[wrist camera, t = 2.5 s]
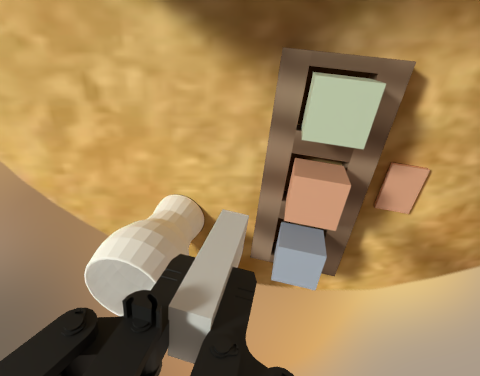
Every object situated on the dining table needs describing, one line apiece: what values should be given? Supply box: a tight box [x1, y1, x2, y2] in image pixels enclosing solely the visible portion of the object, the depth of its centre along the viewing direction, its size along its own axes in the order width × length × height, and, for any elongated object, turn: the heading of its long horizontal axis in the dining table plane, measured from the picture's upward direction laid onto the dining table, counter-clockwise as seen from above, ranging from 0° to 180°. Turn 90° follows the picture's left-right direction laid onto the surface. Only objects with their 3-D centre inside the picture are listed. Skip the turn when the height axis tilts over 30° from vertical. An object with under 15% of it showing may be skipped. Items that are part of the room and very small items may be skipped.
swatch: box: [374, 162, 430, 214], centre depth 31 cm, size 6×4×1 cm, turn 174°
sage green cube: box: [302, 72, 386, 149], centre depth 24 cm, size 5×5×5 cm
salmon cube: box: [284, 158, 351, 231], centre depth 28 cm, size 5×5×5 cm
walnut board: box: [250, 47, 416, 276], centre depth 32 cm, size 27×12×3 cm, turn 174°
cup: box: [84, 195, 204, 316], centre depth 34 cm, size 11×11×15 cm
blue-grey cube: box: [271, 222, 327, 290], centre depth 32 cm, size 5×5×5 cm
